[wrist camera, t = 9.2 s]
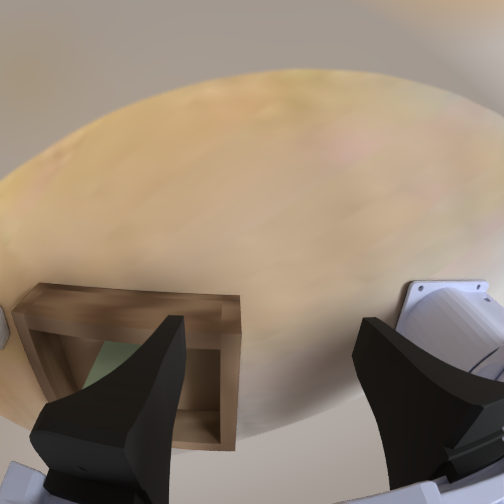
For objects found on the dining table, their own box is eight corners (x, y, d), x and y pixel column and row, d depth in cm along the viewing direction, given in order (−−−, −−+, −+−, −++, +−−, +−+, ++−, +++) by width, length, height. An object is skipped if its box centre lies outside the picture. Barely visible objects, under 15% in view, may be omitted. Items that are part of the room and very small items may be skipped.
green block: (160, 344, 23) (145, 403, 17) (166, 385, 24) (155, 441, 19) (106, 338, 22) (80, 392, 17) (116, 379, 24) (97, 432, 18)
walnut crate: (239, 295, 22) (241, 334, 18) (233, 412, 27) (234, 451, 23) (39, 282, 21) (11, 312, 17) (76, 395, 26) (62, 428, 22)
